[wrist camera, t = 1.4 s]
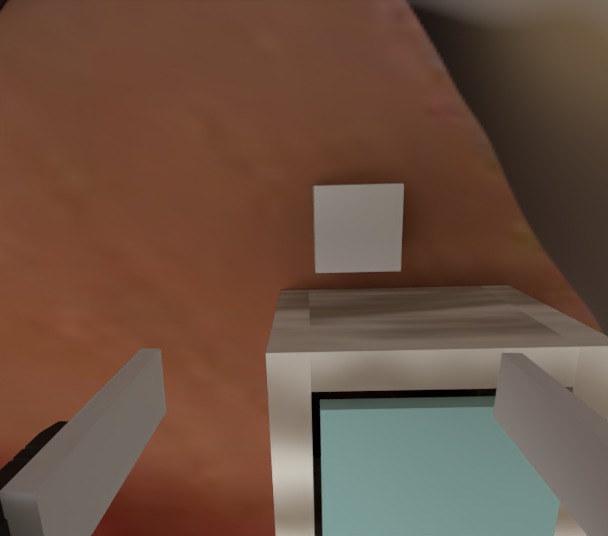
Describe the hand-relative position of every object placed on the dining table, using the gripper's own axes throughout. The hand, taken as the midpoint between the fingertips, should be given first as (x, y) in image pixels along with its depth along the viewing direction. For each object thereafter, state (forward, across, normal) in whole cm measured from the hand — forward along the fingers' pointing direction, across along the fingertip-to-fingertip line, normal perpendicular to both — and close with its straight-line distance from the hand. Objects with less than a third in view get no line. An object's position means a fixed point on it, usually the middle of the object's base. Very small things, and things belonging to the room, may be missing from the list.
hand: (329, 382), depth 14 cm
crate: (+18, +7, -12) cm, 23 cm away
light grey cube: (+18, +3, +4) cm, 19 cm away
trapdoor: (+6, +7, -12) cm, 15 cm away
